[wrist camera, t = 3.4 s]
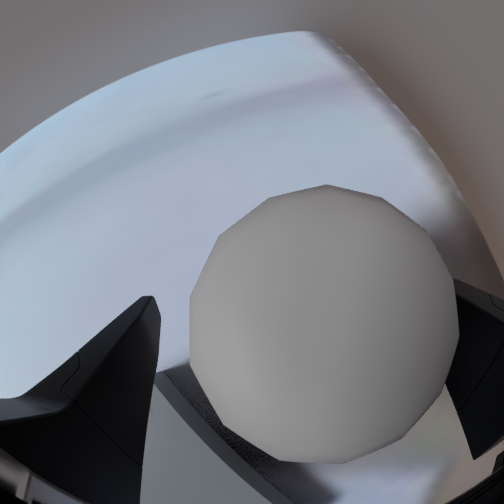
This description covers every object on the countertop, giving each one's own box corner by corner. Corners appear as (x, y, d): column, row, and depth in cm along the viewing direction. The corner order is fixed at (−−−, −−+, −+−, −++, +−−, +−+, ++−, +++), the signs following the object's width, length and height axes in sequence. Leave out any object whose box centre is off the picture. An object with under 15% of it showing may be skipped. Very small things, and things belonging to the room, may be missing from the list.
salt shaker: (208, 312, 16) (65, 221, 3) (297, 266, 17) (381, 88, 4) (256, 402, 14) (249, 570, 2) (345, 353, 15) (539, 362, 3)
